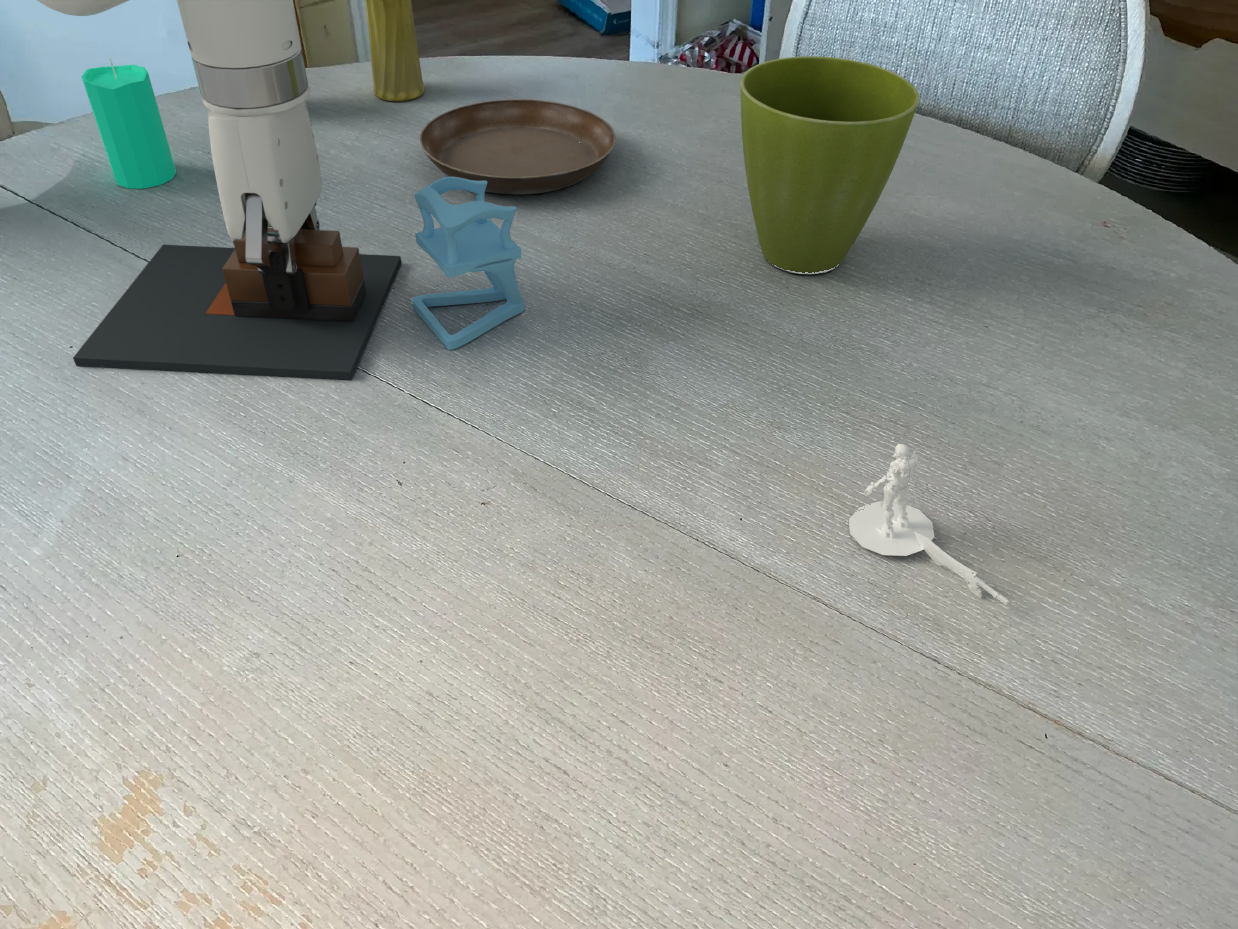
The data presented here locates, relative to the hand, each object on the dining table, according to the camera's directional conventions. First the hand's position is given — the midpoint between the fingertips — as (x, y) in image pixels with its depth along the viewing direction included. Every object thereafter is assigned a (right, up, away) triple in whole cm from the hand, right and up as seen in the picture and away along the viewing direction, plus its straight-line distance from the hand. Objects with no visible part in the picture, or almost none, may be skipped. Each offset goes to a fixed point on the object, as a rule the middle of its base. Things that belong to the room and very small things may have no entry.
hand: (300, 292), depth 85 cm
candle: (-22, +15, +20) cm, 34 cm away
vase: (0, +31, +38) cm, 49 cm away
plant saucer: (+16, +18, +24) cm, 34 cm away
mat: (-5, -1, +1) cm, 5 cm away
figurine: (+47, -21, -19) cm, 54 cm away
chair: (+14, -2, +2) cm, 15 cm away
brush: (0, -1, +1) cm, 1 cm away
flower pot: (+44, +5, +11) cm, 46 cm away
